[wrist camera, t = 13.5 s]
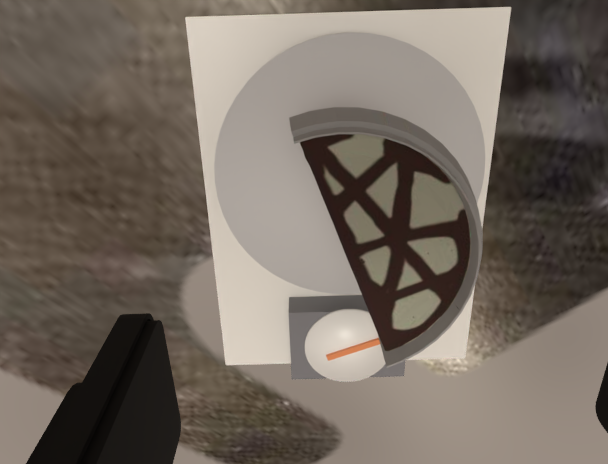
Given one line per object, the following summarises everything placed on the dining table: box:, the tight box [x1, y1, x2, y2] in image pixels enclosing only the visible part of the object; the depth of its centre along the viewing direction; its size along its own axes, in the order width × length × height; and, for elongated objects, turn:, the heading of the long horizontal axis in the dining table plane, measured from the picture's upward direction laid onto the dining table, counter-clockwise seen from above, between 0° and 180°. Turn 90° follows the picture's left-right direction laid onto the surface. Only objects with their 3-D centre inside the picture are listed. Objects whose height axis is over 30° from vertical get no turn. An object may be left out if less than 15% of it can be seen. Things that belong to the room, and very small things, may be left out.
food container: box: [289, 107, 483, 368], centre depth 24 cm, size 12×6×10 cm, turn 22°
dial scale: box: [185, 7, 511, 382], centre depth 32 cm, size 24×18×5 cm
